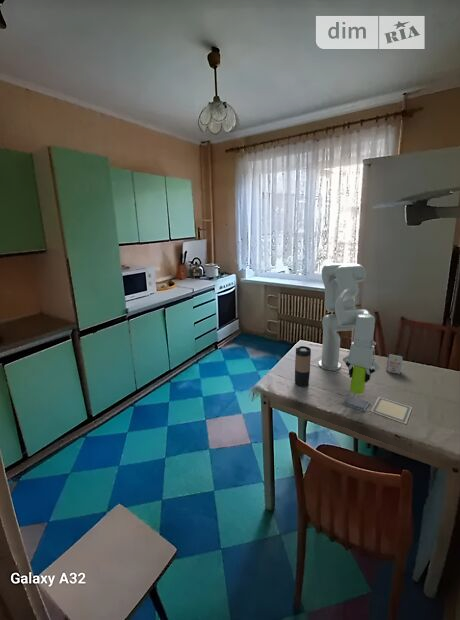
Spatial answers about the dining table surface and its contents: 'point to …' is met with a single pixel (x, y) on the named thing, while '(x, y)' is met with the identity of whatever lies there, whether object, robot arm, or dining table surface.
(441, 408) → the dining table surface
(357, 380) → the soap dispenser
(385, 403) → the card sheet
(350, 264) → the robot arm
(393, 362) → the white patterned box
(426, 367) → the dining table surface
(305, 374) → the travel mug
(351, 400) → the ink pad
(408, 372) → the dining table surface
